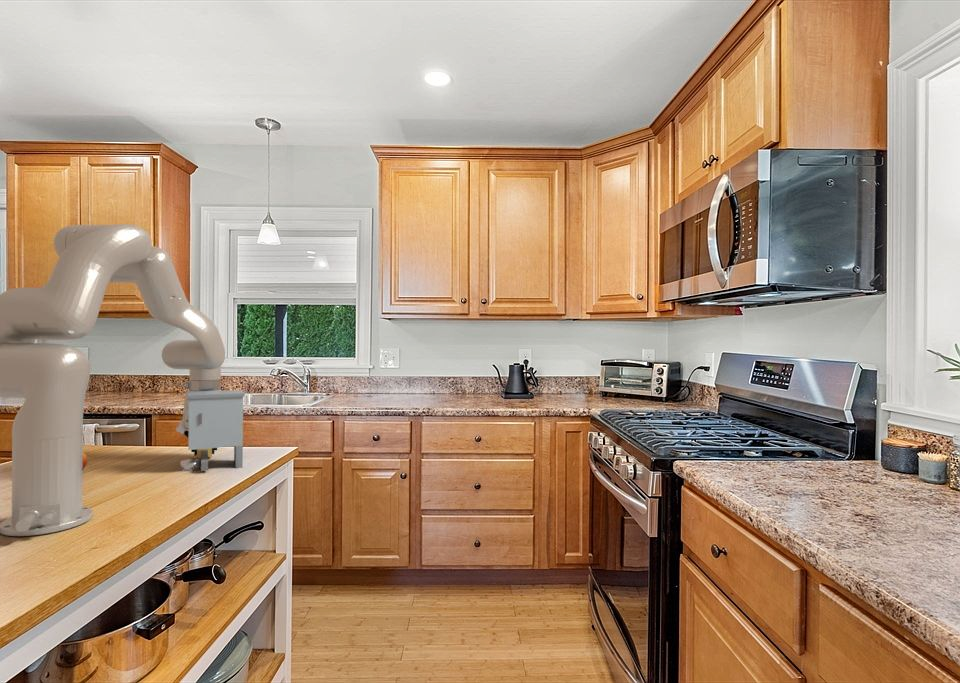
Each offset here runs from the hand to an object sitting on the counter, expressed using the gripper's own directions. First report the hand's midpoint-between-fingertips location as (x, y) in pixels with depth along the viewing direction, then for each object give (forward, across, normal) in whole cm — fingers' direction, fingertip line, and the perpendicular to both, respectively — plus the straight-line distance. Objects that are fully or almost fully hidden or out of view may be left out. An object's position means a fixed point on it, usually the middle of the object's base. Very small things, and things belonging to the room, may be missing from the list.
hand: (204, 453), depth 140 cm
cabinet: (+1, +2, -11) cm, 11 cm away
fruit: (+2, -28, -7) cm, 29 cm away
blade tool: (+1, 0, -8) cm, 8 cm away
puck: (+1, -3, -11) cm, 11 cm away
